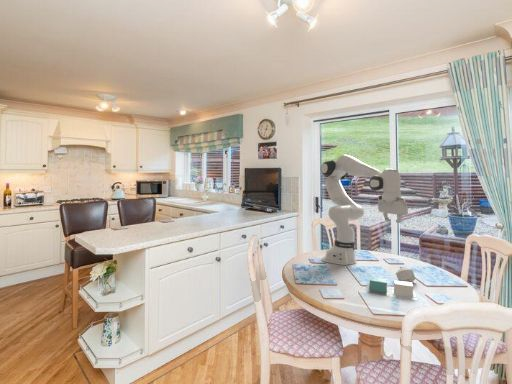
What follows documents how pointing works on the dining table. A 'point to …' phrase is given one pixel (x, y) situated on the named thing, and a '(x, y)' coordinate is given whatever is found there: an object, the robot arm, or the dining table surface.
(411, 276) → the grey brown rock
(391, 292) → the white flat slab
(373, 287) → the teal brick
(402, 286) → the cream brick
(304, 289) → the dining table surface
